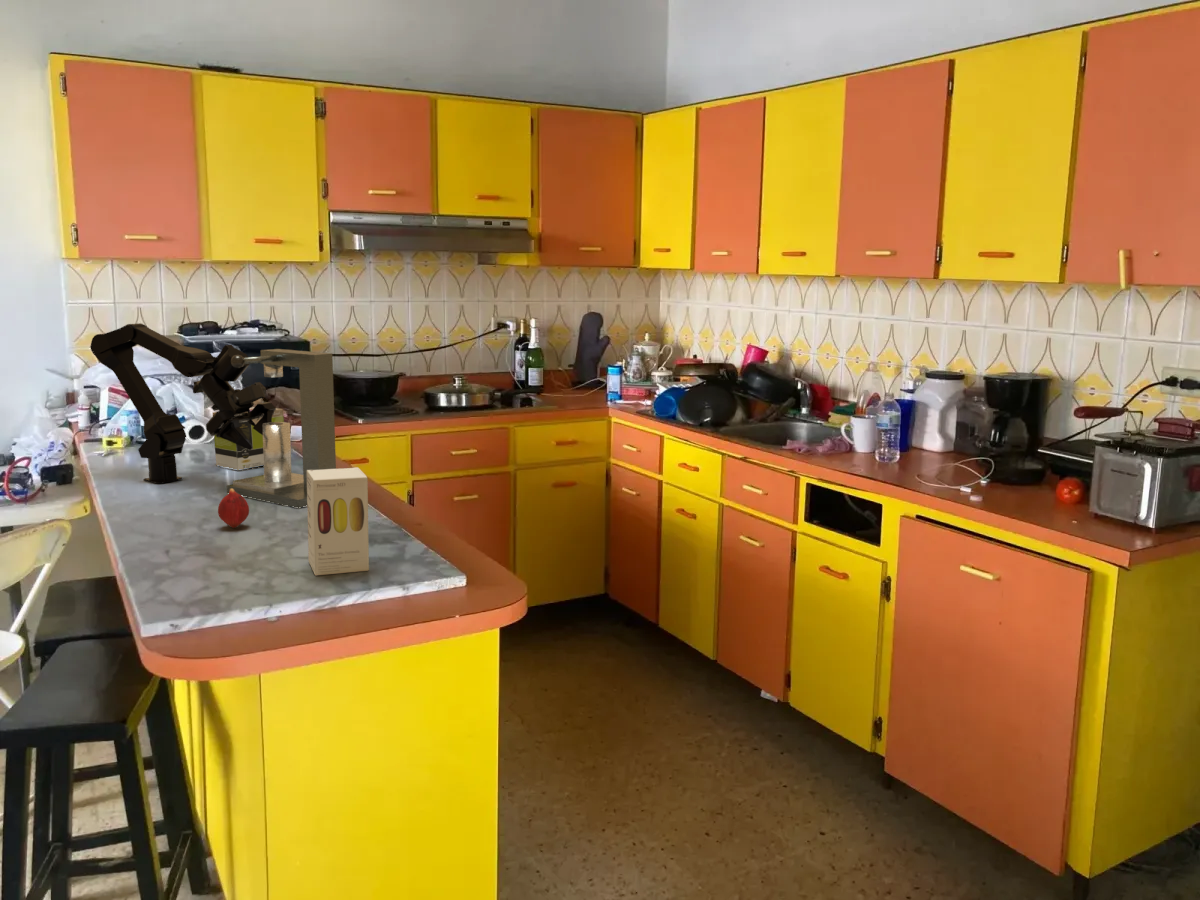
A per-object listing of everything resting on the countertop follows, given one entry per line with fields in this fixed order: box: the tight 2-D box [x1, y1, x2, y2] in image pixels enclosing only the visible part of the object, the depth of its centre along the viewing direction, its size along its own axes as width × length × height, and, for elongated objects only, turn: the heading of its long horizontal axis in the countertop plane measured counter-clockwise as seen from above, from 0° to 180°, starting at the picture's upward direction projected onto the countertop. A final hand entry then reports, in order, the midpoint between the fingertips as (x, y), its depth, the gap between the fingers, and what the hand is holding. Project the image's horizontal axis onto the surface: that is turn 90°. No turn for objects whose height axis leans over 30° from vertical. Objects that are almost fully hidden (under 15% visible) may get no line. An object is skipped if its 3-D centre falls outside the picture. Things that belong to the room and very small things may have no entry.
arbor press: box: [226, 348, 337, 508], centre depth 220 cm, size 24×22×33 cm
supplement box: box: [306, 466, 370, 576], centre depth 171 cm, size 10×9×17 cm
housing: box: [262, 421, 292, 482], centre depth 226 cm, size 6×6×13 cm
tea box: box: [212, 406, 285, 470], centre depth 257 cm, size 15×10×15 cm
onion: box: [217, 489, 250, 529], centre depth 196 cm, size 6×6×8 cm
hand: (264, 445), depth 227 cm, fingers open, 9 cm apart
